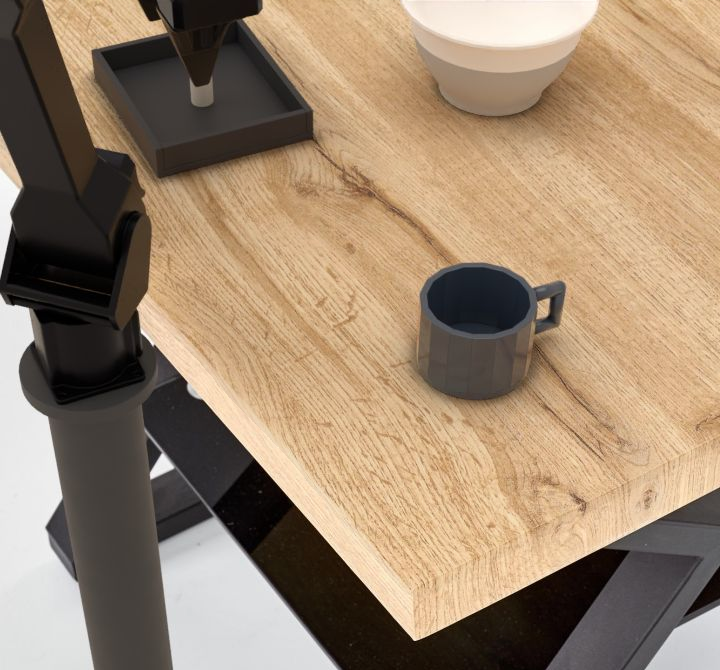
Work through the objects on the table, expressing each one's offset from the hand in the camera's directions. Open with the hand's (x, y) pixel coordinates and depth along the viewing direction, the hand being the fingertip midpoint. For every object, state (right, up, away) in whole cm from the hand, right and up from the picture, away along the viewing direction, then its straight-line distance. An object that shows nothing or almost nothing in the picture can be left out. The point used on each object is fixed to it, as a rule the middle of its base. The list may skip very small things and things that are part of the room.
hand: (178, 51), depth 112 cm
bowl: (+24, +3, +19) cm, 31 cm away
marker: (0, +1, +16) cm, 16 cm away
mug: (+22, -22, -3) cm, 31 cm away
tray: (0, +1, +16) cm, 16 cm away
